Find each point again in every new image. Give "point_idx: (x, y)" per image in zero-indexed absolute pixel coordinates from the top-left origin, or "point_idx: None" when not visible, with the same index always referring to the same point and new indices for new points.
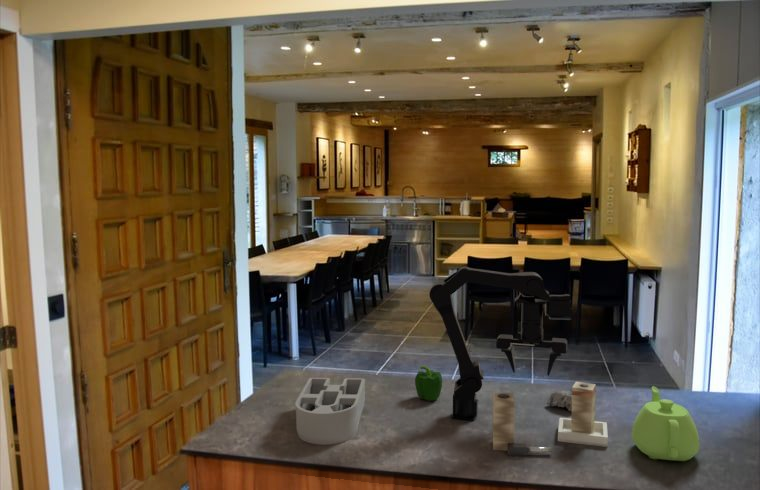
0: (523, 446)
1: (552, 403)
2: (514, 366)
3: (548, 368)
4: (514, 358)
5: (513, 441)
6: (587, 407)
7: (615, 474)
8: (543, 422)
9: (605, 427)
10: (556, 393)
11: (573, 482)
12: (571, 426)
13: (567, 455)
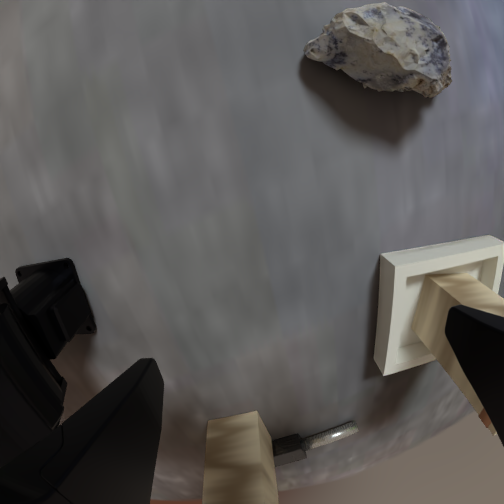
0: (298, 457)
1: (338, 68)
2: (155, 441)
3: (480, 392)
4: (96, 448)
5: (272, 455)
6: None
7: (449, 413)
8: (324, 241)
9: (497, 283)
10: (368, 44)
11: (382, 461)
12: (425, 344)
13: (387, 405)
